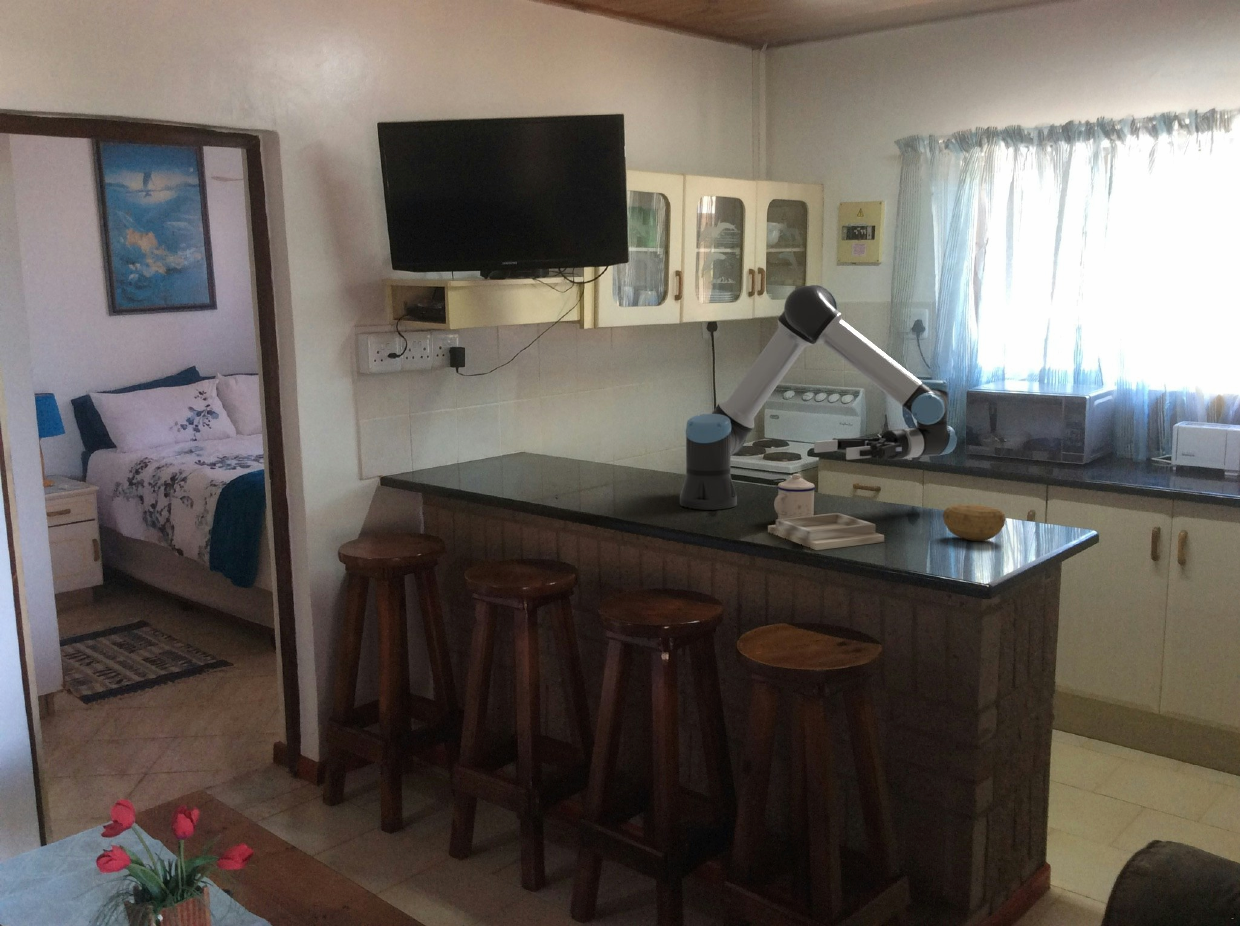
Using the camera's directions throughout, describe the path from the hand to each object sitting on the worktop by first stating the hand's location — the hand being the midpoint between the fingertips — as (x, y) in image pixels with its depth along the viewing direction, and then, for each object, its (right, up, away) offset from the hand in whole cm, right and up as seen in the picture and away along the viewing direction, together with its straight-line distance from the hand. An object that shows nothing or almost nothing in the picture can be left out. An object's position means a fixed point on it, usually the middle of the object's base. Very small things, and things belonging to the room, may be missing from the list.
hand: (830, 450), depth 266 cm
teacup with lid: (-10, -18, -1) cm, 20 cm away
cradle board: (-5, -20, -17) cm, 27 cm away
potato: (+28, -21, -22) cm, 41 cm away
